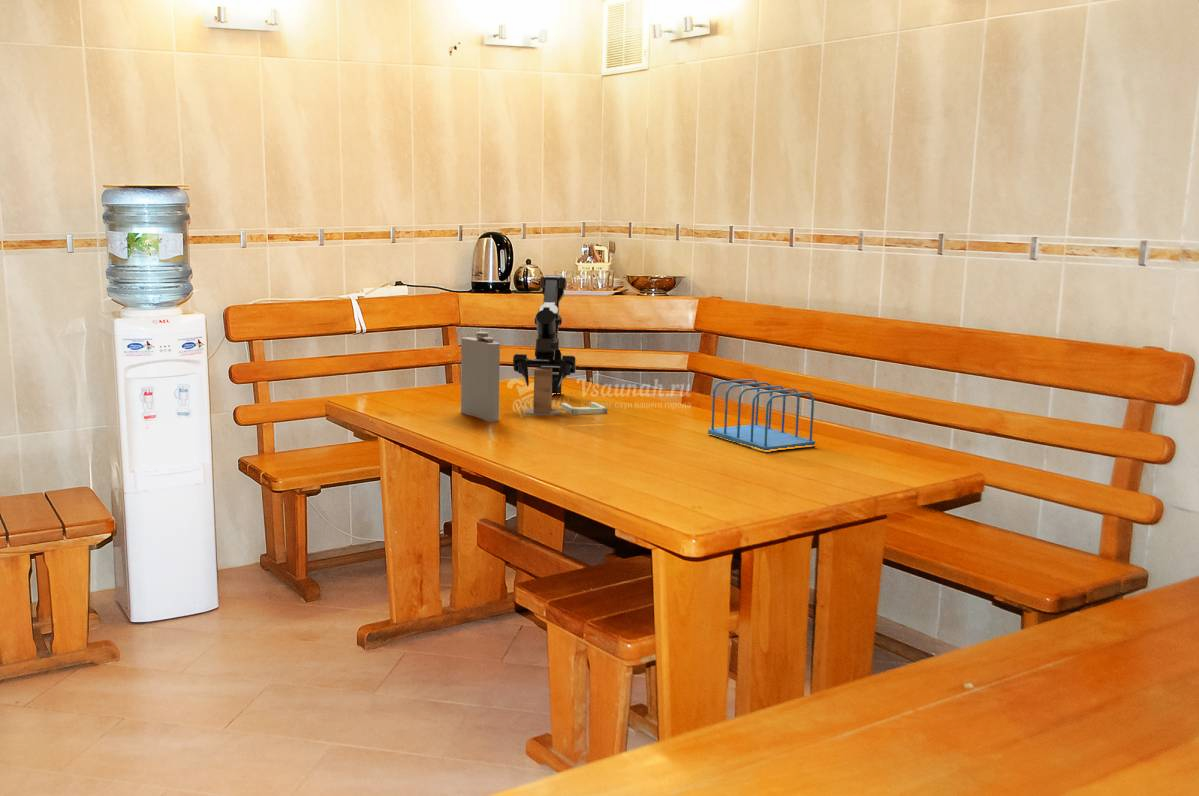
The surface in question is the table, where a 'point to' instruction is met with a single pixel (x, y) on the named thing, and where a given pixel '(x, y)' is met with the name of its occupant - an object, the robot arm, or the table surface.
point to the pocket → (585, 409)
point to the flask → (480, 377)
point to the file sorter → (764, 434)
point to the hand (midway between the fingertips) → (542, 386)
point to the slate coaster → (553, 412)
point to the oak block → (542, 390)
